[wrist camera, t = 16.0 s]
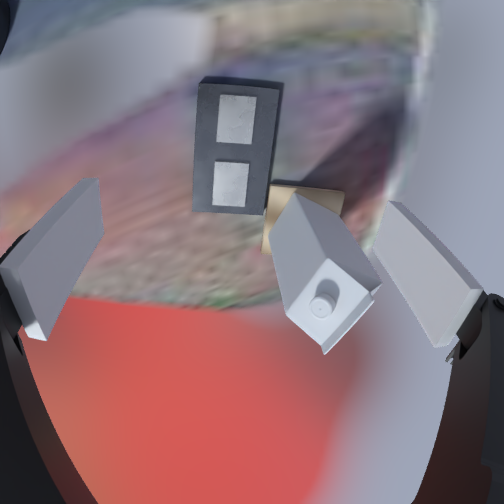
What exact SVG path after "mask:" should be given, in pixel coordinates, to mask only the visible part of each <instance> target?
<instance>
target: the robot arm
mask: <svg viewBox="0 0 504 504" xmlns="http://www.w3.org/2000/svg"><path fill="white" fill-rule="evenodd" d="M9 21H10V11H9V6H8V3H7V1H6V0H0V53H1V51H2V49H3V46H4V43H5V40H6V37H7V33H8V29H9ZM103 235H104V227H103V219H102V211H101V201H100V191H99V179H98V178H83V179H82V180H81V181H79V182H78V183H77V184H76V185H75V186H74V187H73V188H72V189H71V190H70V191H69V192H67V193H66V194H65V195H64V196H63V197H62V198H61V199H60V200H59V201H58V202H57V203H56V204H55V205H54V206H53V207H52V208H51V209H50V210H49V211H48V212H47V213H46V214H45V215H44V216H43V217H42V218H41V219H40V220H39V221H38V222H37V223H36V224H35V225H34V227H33V228H32V229H31V230H28V231H27V232H25V233H24V234H22V235H21V236H19V237H18V238H17V239H16V241H15V242H14V243H13V244H12V246H10V247H9V248H8V250H7V251H6V253H4V254H3V255H2V257H1V258H0V504H98V503H97V501H96V500H95V498H94V497H93V495H92V494H91V492H90V491H89V489H88V488H87V486H86V485H85V483H84V481H83V480H82V478H81V476H80V475H79V473H78V471H77V470H76V468H75V467H74V465H73V463H72V461H71V459H70V458H69V456H68V454H67V452H66V450H65V448H64V446H63V444H62V442H61V440H60V438H59V436H58V434H57V432H56V430H55V428H54V426H53V424H52V422H51V419H50V417H49V415H48V413H47V410H46V408H45V406H44V403H43V401H42V399H41V396H40V394H39V391H38V388H37V386H36V383H35V380H34V378H33V375H32V372H31V370H30V366H29V363H28V360H27V357H26V354H25V351H24V347H23V344H22V341H21V339H20V337H19V335H18V331H19V329H20V327H21V325H23V327H24V329H25V331H26V333H27V335H28V337H30V338H35V339H40V340H44V341H47V339H48V337H49V335H50V333H51V330H52V328H53V326H54V324H55V322H56V320H57V318H58V316H59V314H60V312H61V310H62V308H63V306H64V304H65V302H66V300H67V298H68V296H69V294H70V292H71V290H72V289H73V287H74V285H75V283H76V281H77V279H78V277H79V276H80V274H81V272H82V270H83V269H84V267H85V265H86V263H87V262H88V260H89V258H90V256H91V255H92V253H93V251H94V250H95V248H96V246H97V245H98V243H99V241H100V240H101V238H102V237H103ZM372 250H373V252H374V253H375V255H376V256H377V257H378V259H379V260H380V262H381V263H382V265H383V266H384V268H385V269H386V271H387V272H388V274H389V275H390V277H391V278H392V280H393V281H394V283H395V284H396V286H397V287H398V289H399V291H400V292H401V294H402V295H403V297H404V298H405V300H406V302H407V303H408V305H409V306H410V308H411V309H412V311H413V313H414V314H415V316H416V318H417V319H418V321H419V323H420V324H421V326H422V328H423V330H424V331H425V333H426V335H427V336H428V338H429V340H430V342H431V343H432V345H433V347H434V348H437V347H443V346H448V345H449V343H450V342H451V340H452V339H453V337H454V336H455V335H456V334H457V336H458V338H459V339H460V340H459V342H458V343H457V344H456V346H455V347H454V348H453V350H452V351H451V353H450V354H449V355H448V357H447V358H446V360H445V361H446V362H448V361H449V359H450V358H453V361H452V362H451V363H450V364H452V370H451V376H450V382H449V387H448V392H447V397H446V402H445V406H444V410H443V415H442V419H441V423H440V426H439V430H438V434H437V438H436V441H435V444H434V448H433V451H432V454H431V457H430V460H429V463H428V466H427V469H426V472H425V475H424V477H423V480H422V483H421V485H420V488H419V491H418V493H417V495H416V497H415V499H414V501H413V502H412V503H411V504H504V298H503V297H501V296H499V295H497V294H492V293H491V294H489V295H487V294H486V293H485V292H484V290H483V287H482V286H481V285H480V284H479V283H478V282H477V280H476V279H475V278H474V277H473V276H472V275H471V274H470V272H468V270H467V269H466V268H465V267H464V266H463V265H462V263H461V262H460V261H459V260H458V259H457V258H456V257H455V256H454V255H453V254H452V252H450V250H449V249H448V248H447V247H446V246H445V245H444V244H443V243H442V242H441V241H440V240H439V239H438V238H437V237H436V236H435V235H434V234H433V233H432V232H431V231H430V230H429V229H428V228H427V227H426V226H425V225H424V224H423V223H422V222H421V221H420V220H419V219H418V218H417V217H416V216H415V215H414V214H413V213H411V212H410V211H409V210H408V209H407V208H406V207H405V206H404V205H403V204H402V203H400V202H394V201H388V203H387V206H386V209H385V213H384V216H383V219H382V222H381V225H380V228H379V231H378V234H377V237H376V240H375V243H374V245H373V248H372Z"/></svg>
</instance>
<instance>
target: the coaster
mask: <svg viewBox="0 0 504 504" xmlns="http://www.w3.org/2000/svg"><path fill="white" fill-rule="evenodd" d="M294 192H295V193H297V194H299V195H301V196H303V197H305V198H307V199H309V200H311V201H313V202H315V203H317V204H319V205H321V206H323V207H325V208H327V209H329V210H331V211H333V212H334V213H336V214H338V215H339V217H340V213H341V209H342V205H343V201H344V197H345V193H344V192H343V191H336V190H328V189H319V188H310V187H300V186H289V185H278V184H270V187H269V194H268V201H267V209H266V216H265V223H264V230H263V237H262V244H261V254H272V252H271V248H270V244H269V240H268V234H269V232H270V231H271V229H272V227H273V226H274V224H275V222H276V221H277V219H278V217H279V216H280V214H281V212H282V211H283V209H284V207H285V206H286V204H287V203H288V201H289V199H290V198H291V196H292V194H293V193H294Z"/></svg>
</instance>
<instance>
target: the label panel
mask: <svg viewBox="0 0 504 504" xmlns="http://www.w3.org/2000/svg"><path fill="white" fill-rule="evenodd" d="M279 91H280V90H279V89H271V88H263V87H253V86H242V85H228V84H210V83H199V87H198V100H197V114H196V130H195V149H194V172H193V206H192V211H193V212H214V213H233V214H250V215H263V212H264V204H265V197H266V190H267V182H268V175H269V167H270V159H271V152H272V144H273V137H274V129H275V121H276V114H277V106H278V98H279Z"/></svg>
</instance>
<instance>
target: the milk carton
mask: <svg viewBox="0 0 504 504" xmlns="http://www.w3.org/2000/svg"><path fill="white" fill-rule="evenodd" d="M268 240H269V244H270V248H271V252H272V257H273V261H274V265H275V270H276V274H277V278H278V283H279V287H280V291H281V296H282V300H283V304H284V308H285V313H286V316H288V317H289V318H290V319H291V320H292V321H293V322H294V323H295V324H297V325H298V326H299V327H300V328H301V329H302V330H303V331H305V332H306V333H307V334H308V335H309V336H310V337H311V338H313V339H314V340H315V341H316V342H317V343H318V344H320V345H321V347H322V351H323V354H326V353H327V352H328V351H329V350H330V349H331V348H332V347H333V346H334V345H335V344H336V343H337V342H338V341H339V340H340V339H341V338H342V337H343V336H344V335H345V333H346V332H347V331H348V330H349V329H350V328H351V327H352V326H353V325H354V324H355V323H356V322H357V321H358V319H359V318H360V317H361V316H362V315H363V314H364V313H365V312H366V311H367V309H368V308H369V307H370V306H371V305H372V304H373V302H374V299H373V297H372V296H373V294H374V293H375V292H376V291H377V290H378V288H379V287H380V286H381V285H382V283H383V282H382V280H381V279H380V277H379V275H378V274H377V272H376V271H375V269H374V268H373V266H372V264H371V263H370V261H369V260H368V258H367V257H366V255H365V254H364V252H363V251H362V249H361V248H360V246H359V244H358V243H357V241H356V240H355V239H354V237H353V236H352V234H351V233H350V231H349V230H348V228H347V227H346V225H345V224H344V222H343V221H342V220H341V218H340V217H339V215H338V214H336V213H334V212H333V211H331V210H329V209H327V208H325V207H323V206H321V205H319V204H317V203H315V202H313V201H311V200H309V199H307V198H305V197H303V196H301V195H299V194H297V193H295V192H294V193H293V194H292V196H291V198H290V199H289V201H288V203H287V204H286V206H285V207H284V209H283V211H282V212H281V214H280V216H279V217H278V219H277V221H276V222H275V224H274V226H273V227H272V229H271V231H270V232H269V234H268Z"/></svg>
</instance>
